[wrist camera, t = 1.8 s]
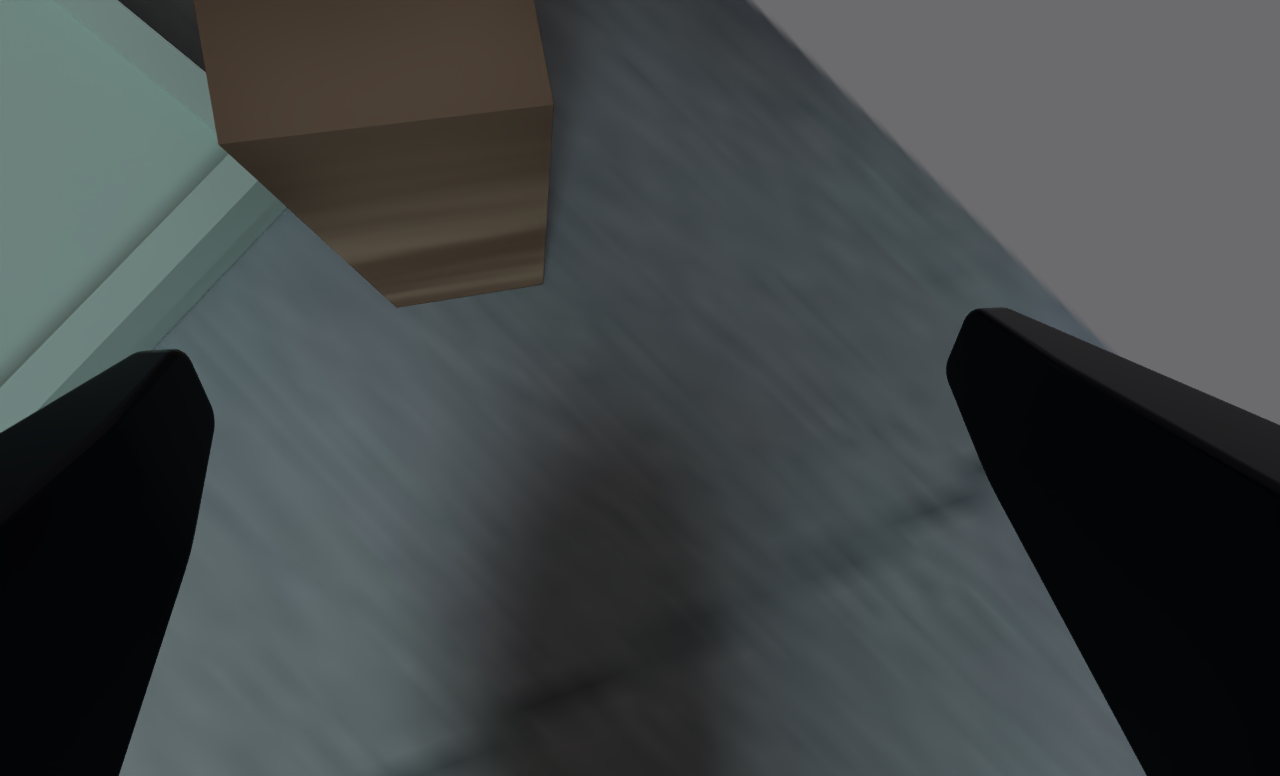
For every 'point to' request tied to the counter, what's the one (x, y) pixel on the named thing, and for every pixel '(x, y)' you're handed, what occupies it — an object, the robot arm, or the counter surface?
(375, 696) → the counter surface
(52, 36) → the tray
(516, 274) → the tan wooden block
